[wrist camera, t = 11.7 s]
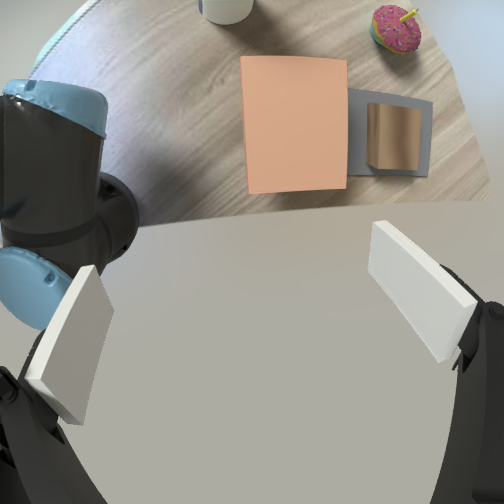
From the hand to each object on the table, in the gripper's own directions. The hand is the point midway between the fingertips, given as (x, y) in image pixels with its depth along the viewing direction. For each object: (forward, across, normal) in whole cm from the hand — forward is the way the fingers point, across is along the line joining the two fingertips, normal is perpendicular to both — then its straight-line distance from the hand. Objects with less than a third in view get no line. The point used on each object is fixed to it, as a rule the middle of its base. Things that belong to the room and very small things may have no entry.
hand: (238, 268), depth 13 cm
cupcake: (+31, +28, +19) cm, 46 cm away
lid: (+23, +9, +4) cm, 25 cm away
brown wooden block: (+31, +27, +1) cm, 41 cm away
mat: (+31, +28, +1) cm, 42 cm away
